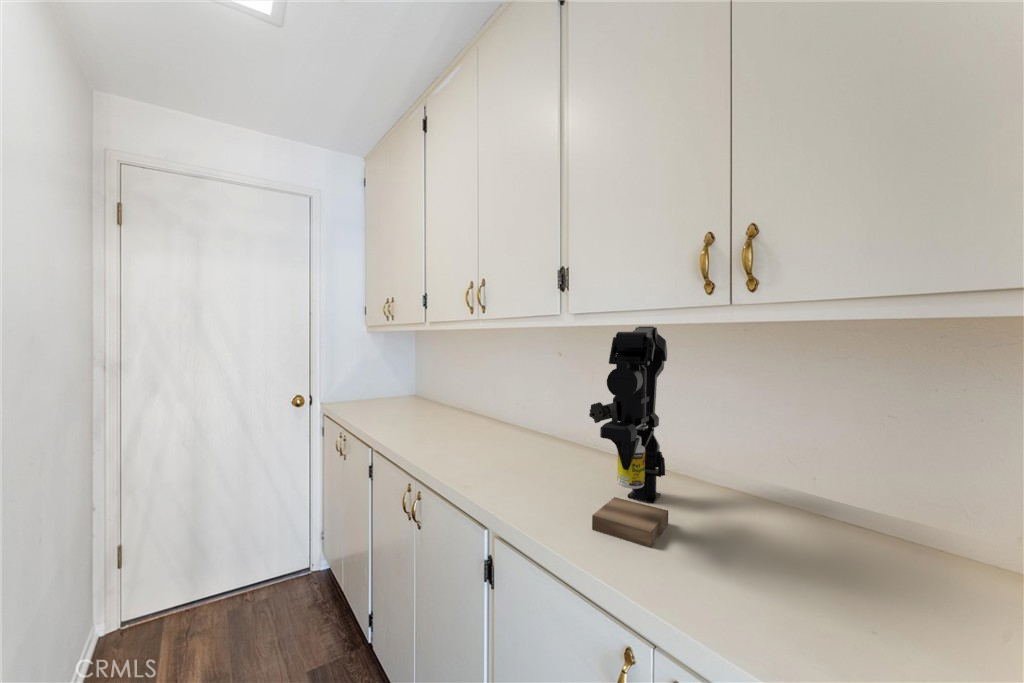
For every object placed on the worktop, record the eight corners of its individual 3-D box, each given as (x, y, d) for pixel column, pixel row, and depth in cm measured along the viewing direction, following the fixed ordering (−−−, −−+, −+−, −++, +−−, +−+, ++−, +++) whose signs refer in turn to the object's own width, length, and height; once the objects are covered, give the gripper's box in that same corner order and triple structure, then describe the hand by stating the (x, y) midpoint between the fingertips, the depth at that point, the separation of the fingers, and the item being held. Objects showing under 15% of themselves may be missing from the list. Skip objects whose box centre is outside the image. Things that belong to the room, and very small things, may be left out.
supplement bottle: (632, 491, 81) (632, 441, 81) (611, 483, 86) (612, 435, 86) (650, 486, 84) (651, 437, 84) (629, 478, 89) (629, 431, 89)
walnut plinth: (614, 510, 94) (614, 497, 94) (668, 524, 87) (668, 510, 87) (592, 529, 84) (592, 515, 84) (650, 547, 77) (650, 532, 77)
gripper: (612, 384, 97) (611, 449, 98) (576, 393, 82) (575, 469, 82) (660, 388, 91) (659, 457, 91) (630, 398, 76) (629, 481, 76)
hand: (630, 465), depth 85 cm, fingers closed on supplement bottle, 6 cm apart
